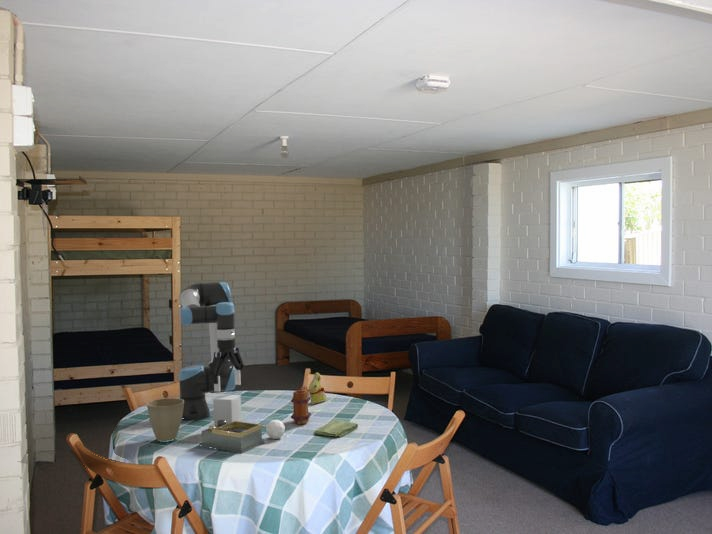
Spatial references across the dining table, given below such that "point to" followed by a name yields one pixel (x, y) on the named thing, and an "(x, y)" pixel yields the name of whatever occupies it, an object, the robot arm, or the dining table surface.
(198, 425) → the dining table surface
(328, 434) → the washcloth
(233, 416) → the supplement box
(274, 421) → the geometric ball
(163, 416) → the plant pot
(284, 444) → the dining table surface
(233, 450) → the grey and gold block
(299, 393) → the mug
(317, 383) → the chocolate bunny
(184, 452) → the dining table surface
